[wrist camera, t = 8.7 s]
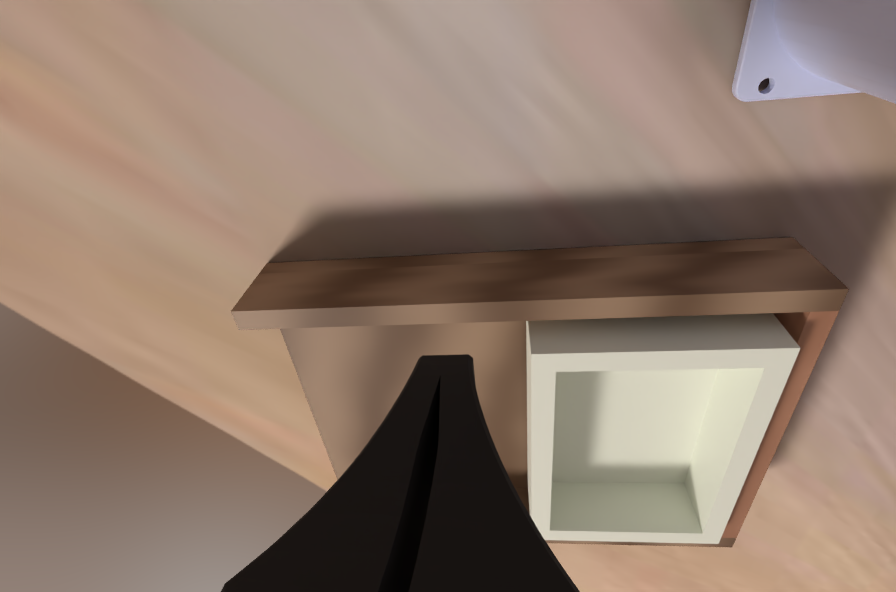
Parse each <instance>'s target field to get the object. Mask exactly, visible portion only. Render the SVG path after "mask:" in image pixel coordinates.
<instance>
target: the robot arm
mask: <svg viewBox="0 0 896 592" xmlns="http://www.w3.org/2000/svg"><path fill="white" fill-rule="evenodd" d="M766 78H769V84H768V86H767V88H765V89H764V90H762V91H758V86H759V84H760V82H761V81H763V80H764V79H766ZM860 92H864V93H867V94H870V95H873V96H876V97H878V98H881V99H884V100H887V101H890V102H893V103H896V0H751V4H750V9H749V13H748V18H747V22H746V27H745V31H744V36H743V40H742V45H741V49H740V54H739V58H738V63H737V67H736V72H735V76H734V81H733V85H732V93H733V95H734V97H736V98H737V99H739V100H741V101H745V102H750V101H762V100H774V99H786V98H799V97H811V96H823V95H836V94H848V93H860ZM221 592H580V591H579V590H578V588H577V587H576V586H575V584H574V583H573V581H572V580H571V579H570V577H569V576H568V574H567V573H566V571H565V570H564V569H563V567H562V566H561V564H560V563H559V561H558V560H557V558H556V557H555V555H554V554H553V552H552V551H551V549H550V548H549V546H548V544H547V543H546V541H545V540H544V538H543V537H542V535H541V533H540V532H539V530H538V528H537V527H536V525H535V523H534V521H533V520H532V518H531V516H530V515H529V513H528V511H527V509H526V508H525V506H524V504H523V503H522V501H521V499H520V497H519V495H518V493H517V491H516V489H515V488H514V486H513V484H512V482H511V480H510V478H509V476H508V474H507V471H506V469H505V467H504V465H503V463H502V461H501V459H500V456H499V454H498V452H497V449H496V447H495V445H494V442H493V440H492V437H491V435H490V432H489V429H488V426H487V424H486V421H485V418H484V415H483V412H482V408H481V405H480V402H479V398H478V395H477V390H476V384H475V373H474V363H473V357H471V356H470V355H469V354H463V355H422V356H421V357H420V358H419V359H418V361H417V363H416V365H415V368H414V369H413V371H412V373H411V375H410V377H409V379H408V381H407V383H406V385H405V386H404V388H403V390H402V392H401V393H400V395H399V397H398V398H397V400H396V401H395V403H394V405H393V406H392V408H391V410H390V411H389V413H388V414H387V416H386V417H385V419H384V420H383V422H382V423H381V425H380V426H379V428H378V429H377V430H376V432H375V433H374V435H373V436H372V438H371V439H370V440H369V442H368V443H367V445H366V446H365V447H364V449H363V450H362V451H361V452H360V454H359V455H358V456H357V458H356V459H355V460H354V461H353V463H352V464H351V465H350V466H349V467H348V469H347V470H346V471H345V472H344V473H343V475H342V476H341V477H340V478H339V479H338V480H337V481H336V482H335V484H334V485H333V486H332V487H331V488H330V489H329V490H328V491H327V492H326V493H325V495H324V496H323V497H322V498H321V499H320V500H319V501H318V502H317V503H316V504H315V505H314V506H313V507H312V508H311V509H310V510H309V511H308V512H307V513H306V514H305V515H304V516H303V517H302V518H301V519H300V520H299V521H297V522H296V524H294V525H293V526H292V527H291V528H290V529H289V530H288V531H287V532H286V533H285V534H284V535H283V536H282V537H280V538H279V539H278V540H277V541H276V542H275V543H274V544H273V545H272V546H270V547H269V548H268V549H267V550H266V551H264V552H263V553H262V554H261V555H260V556H258V557H257V558H256V559H255V560H254V561H252V562H251V563H250V564H249V565H248V566H246V567H245V568H244V569H243V570H241V571H240V572H239V573H238V574H236V575H235V576H234V577H233V578H231V579H230V580H229V581H228V582H226V583H225V585H224V587H223V589H222V591H221Z"/></svg>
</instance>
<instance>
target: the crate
mask: <svg viewBox="0 0 896 592" xmlns="http://www.w3.org/2000/svg"><path fill="white" fill-rule="evenodd" d="M526 350H527V466H528V496H529V511H530V516H531V518H532V520H533V521H534V523H535V525H536V527H537V528H538V530H539V532H540V533H541V535H542V537H543V538H544V540H564V541H609V542H653V543H698V544H719V542H720V539H721V537H722V534H723V532H724V530H725V527H726V525H727V523H728V520H729V518H730V515H731V513H732V511H733V508H734V506H735V503H736V501H737V499H738V496H739V494H740V492H741V489H742V487H743V484H744V482H745V480H746V477H747V475H748V472H749V470H750V468H751V465H752V463H753V461H754V458H755V456H756V453H757V451H758V449H759V446H760V444H761V441H762V439H763V437H764V434H765V432H766V429H767V427H768V425H769V422H770V420H771V418H772V415H773V413H774V410H775V408H776V406H777V403H778V401H779V398H780V396H781V394H782V391H783V389H784V387H785V384H786V382H787V379H788V377H789V375H790V372H791V370H792V367H793V365H794V363H795V360H796V358H797V356H798V353H799V351H800V347H799V345H798V344H797V343H796V342H795V340H794V339H793V338H792V336H791V335H790V334H789V333H788V331H787V330H786V329H785V328H784V326H783V325H782V324H781V323H780V321H779V320H778V319H777V318H776V316H775V315H774V314H773V313H760V314H728V315H696V316H665V317H633V318H601V319H570V320H538V321H526Z"/></svg>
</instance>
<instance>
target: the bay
mask: <svg viewBox="0 0 896 592" xmlns="http://www.w3.org/2000/svg"><path fill="white" fill-rule="evenodd" d="M848 290H849V288H847V287H846V286H845V285H844V284H843V283H842V282H841V281H840V280H839V279H838V278H837V277H835V276H834V275H833V274H832V273H831V272H830V271H829V270H828V269H827V268H826V267H825V266H823V265H822V264H821V263H820V262H819V261H818V260H817V259H816V258H815V257H814V256H813V255H811V254H810V253H809V252H808V251H807V250H806V249H805V248H804V247H803V246H802V245H801V244H799V243H798V242H797V241H796V240H795V239H794V238H793V237H787V238H766V239H746V240H725V241H705V242H685V243H664V244H644V245H623V246H603V247H583V248H562V249H542V250H521V251H501V252H481V253H460V254H440V255H420V256H399V257H379V258H358V259H338V260H318V261H297V262H277V263H267V264H266V265H265V267H264V268H263V269H262V271H261V272H260V273H259V275H258V276H257V277H256V279H255V280H254V281H253V283H252V284H251V285H250V287H249V288H248V289H247V291H246V292H245V293H244V295H243V296H242V297H241V299H240V300H239V301H238V303H237V304H236V305H235V307H234V308H233V309H232V311H231V313H232V316H233V318H234V320H235V322H236V325H237V327H238V329H239V330H254V329H280V330H281V333H282V335H283V338H284V341H285V343H286V346H287V348H288V351H289V354H290V356H291V359H292V362H293V364H294V367H295V369H296V372H297V375H298V377H299V380H300V382H301V385H302V388H303V390H304V393H305V396H306V398H307V401H308V403H309V406H310V409H311V411H312V414H313V417H314V419H315V422H316V424H317V427H318V430H319V432H320V435H321V438H322V440H323V443H324V445H325V448H326V451H327V453H328V456H329V458H330V461H331V464H332V466H333V469H334V472H335V474H336V477H337V479H339V478H340V477H341V476H342V475H343V473H344V472H345V471H346V470H347V469H348V467H349V466H350V465H351V464H352V463H353V461H354V460H355V459H356V458H357V456H358V455H359V454H360V452H361V451H362V450H363V449H364V447H365V446H366V445H367V443H368V442H369V440H370V439H371V438H372V436H373V435H374V433H375V432H376V430H377V429H378V428H379V426H380V425H381V423H382V422H383V420H384V419H385V417H386V416H387V414H388V413H389V411H390V410H391V408H392V406H393V405H394V403H395V401H396V400H397V398H398V397H399V395H400V393H401V392H402V390H403V388H404V386H405V385H406V383H407V381H408V379H409V377H410V375H411V373H412V371H413V369H414V368H415V365H416V363H417V361H418V359H419V358H420V357H421V356H422V355H463V354H469V355H470V356H471V357H473V363H474V373H475V384H476V390H477V395H478V398H479V402H480V405H481V408H482V412H483V415H484V418H485V421H486V424H487V426H488V429H489V432H490V435H491V437H492V440H493V442H494V445H495V447H496V449H497V452H498V454H499V456H500V459H501V461H502V463H503V465H504V467H505V469H506V471H507V474H508V476H509V478H510V480H511V482H512V484H513V486H514V488H515V489H516V491H517V493H518V495H519V497H520V499H521V501H522V503H523V504H524V506H525V508H526V509H527V511H528V513H529V515H530V511H529V496H528V466H527V350H526V321H538V320H570V319H601V318H633V317H665V316H696V315H728V314H760V313H773V314H774V315H775V316H776V318H777V319H778V320H779V321H780V323H781V324H782V325H783V326H784V328H785V329H786V330H787V331H788V333H789V334H790V335H791V336H792V338H793V339H794V340H795V342H796V343H797V344H798V345H799V347H800V351H799V353H798V356H797V358H796V360H795V363H794V365H793V367H792V370H791V372H790V375H789V377H788V379H787V382H786V384H785V387H784V389H783V391H782V394H781V396H780V398H779V401H778V403H777V406H776V408H775V410H774V413H773V415H772V418H771V420H770V422H769V425H768V427H767V429H766V432H765V434H764V437H763V439H762V441H761V444H760V446H759V449H758V451H757V453H756V456H755V458H754V461H753V463H752V465H751V468H750V470H749V472H748V475H747V477H746V480H745V482H744V484H743V487H742V489H741V492H740V494H739V496H738V499H737V501H736V503H735V506H734V508H733V511H732V513H731V515H730V518H729V520H728V523H727V525H726V527H725V530H724V532H723V534H722V537H721V539H720V542H719V544H698V543H653V542H609V541H564V540H545V541H546V543H569V544H612V545H655V546H699V547H732V546H733V544H734V542H735V540H736V538H737V535H738V533H739V531H740V529H741V526H742V524H743V522H744V520H745V518H746V515H747V513H748V511H749V509H750V507H751V504H752V502H753V500H754V498H755V496H756V493H757V491H758V489H759V487H760V485H761V482H762V480H763V478H764V476H765V473H766V471H767V469H768V467H769V465H770V462H771V460H772V458H773V456H774V454H775V451H776V449H777V447H778V445H779V443H780V440H781V438H782V436H783V434H784V432H785V429H786V427H787V425H788V423H789V420H790V418H791V416H792V414H793V412H794V409H795V407H796V405H797V403H798V401H799V398H800V396H801V394H802V392H803V390H804V387H805V385H806V383H807V381H808V379H809V376H810V374H811V372H812V370H813V368H814V365H815V363H816V361H817V359H818V356H819V354H820V352H821V350H822V348H823V345H824V343H825V341H826V339H827V337H828V334H829V332H830V330H831V328H832V326H833V323H834V321H835V319H836V317H837V315H838V312H839V310H840V308H841V306H842V303H843V301H844V299H845V297H846V295H847V292H848Z"/></svg>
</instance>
